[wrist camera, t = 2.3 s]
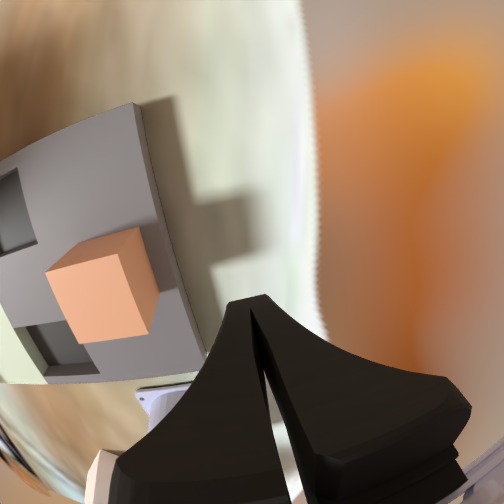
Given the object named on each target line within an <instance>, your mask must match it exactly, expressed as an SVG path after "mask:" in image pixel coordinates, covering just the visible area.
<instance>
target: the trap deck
mask: <svg viewBox="0 0 504 504" xmlns="http://www.w3.org/2000/svg"><path fill="white" fill-rule="evenodd" d="M135 227H139V228H140V232H141V235H142V239H143V242H144V245H145V249H146V252H147V255H148V258H149V261H150V264H151V267H152V271H153V274H154V277H155V279H156V282H157V285H158V288H159V291H160V294H159V298H158V301H157V305H156V309H155V312H154V316H153V320H152V323H151V327H150V331H149V334H146V335H140V336H133V337H127V338H120V339H113V340H106V341H99V342H91V343H83V344H79V343H78V341H77V339H76V337H75V335H74V334H73V332H72V330H71V328H70V326H69V324H68V322H67V320H66V318H65V316H64V314H63V312H62V310H61V308H60V306H59V304H58V302H57V299H56V297H55V295H54V293H53V291H52V288H51V286H50V284H49V281H48V279H47V276H46V274H45V272H46V271H47V270H48V269H49V268H50V267H51V266H52V265H53V264H55V263H56V262H57V261H58V260H59V259H60V258H61V257H62V256H63V255H65V254H66V253H67V252H68V251H69V250H70V249H71V248H73V247H74V246H75V245H76V244H77V243H80V242H84V241H87V240H91V239H94V238H98V237H102V236H105V235H109V234H113V233H116V232H120V231H124V230H128V229H131V228H135ZM206 359H207V353H206V350H205V347H204V345H203V342H202V339H201V336H200V333H199V330H198V327H197V325H196V322H195V319H194V316H193V313H192V310H191V307H190V304H189V300H188V297H187V294H186V291H185V288H184V285H183V281H182V278H181V275H180V271H179V268H178V265H177V261H176V258H175V254H174V251H173V247H172V244H171V240H170V237H169V233H168V229H167V226H166V222H165V218H164V214H163V210H162V206H161V202H160V198H159V194H158V190H157V186H156V182H155V177H154V173H153V168H152V164H151V159H150V155H149V150H148V145H147V140H146V135H145V130H144V125H143V119H142V114H141V108H140V106H138V105H136V104H134V103H129V104H126V105H123V106H120V107H117V108H114V109H111V110H109V111H106V112H103V113H100V114H98V115H95V116H92V117H90V118H87V119H85V120H82V121H80V122H77V123H75V124H73V125H70V126H68V127H66V128H63V129H61V130H59V131H57V132H55V133H53V134H50V135H48V136H46V137H44V138H42V139H40V140H38V141H36V142H34V143H32V144H30V145H28V146H27V147H25V148H23V149H21V150H19V151H17V152H16V153H14V154H12V155H10V156H9V157H7V158H5V159H3V160H2V161H0V383H14V384H80V383H99V382H113V381H124V380H135V379H144V378H153V377H160V376H168V375H175V374H182V373H188V372H194V371H200V369H201V368H202V366H203V364H204V362H205V361H206Z"/></svg>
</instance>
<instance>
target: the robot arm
mask: <svg viewBox="0 0 504 504" xmlns="http://www.w3.org/2000/svg"><path fill="white" fill-rule="evenodd" d="M264 372H265V374H266V377H267V380H268V382H269V385H270V387H271V390H272V392H273V395H274V398H275V400H276V403H277V405H278V408H279V410H280V413H281V415H282V418H283V421H284V423H285V426H286V429H287V433H288V436H289V440H290V443H291V447H292V450H293V454H294V457H295V461H296V464H297V468H298V472H299V475H300V479H301V482H302V486H303V489H304V493H305V496H306V499H307V503H308V504H448V503H450V502H451V501H453V500H454V499H456V498H457V497H459V496H460V495H461V494H463V493H464V492H465V494H464V496H463V501H462V503H460V504H504V437H502V438H501V439H500V440H499V441H498V442H497V443H495V444H494V445H493V446H492V447H491V448H489V449H488V450H487V451H486V452H485V453H483V454H482V455H481V456H480V457H478V458H477V459H476V460H474V461H473V462H472V463H470V464H469V465H467V466H466V467H465V468H463V469H461V468H460V466H459V465H458V463H457V461H456V460H455V459H456V458H457V457H458V451H457V450H456V448H455V447H454V445H453V443H454V442H455V440H456V439H457V437H458V436H459V435H460V433H461V432H462V430H463V429H464V427H465V426H466V424H467V422H468V420H469V418H470V415H471V409H472V406H471V405H470V403H469V402H468V401H467V400H466V398H465V397H464V396H463V395H462V393H461V392H460V391H459V390H458V389H457V388H456V386H455V385H454V384H453V383H452V382H451V381H450V380H449V379H448V378H446V377H443V376H435V375H428V374H422V373H414V372H409V371H405V370H400V369H397V368H393V367H389V366H385V365H382V364H378V363H375V362H372V361H369V360H367V359H364V358H361V357H359V356H356V355H354V354H351V353H349V352H347V351H344V350H342V349H340V348H338V347H336V346H334V345H332V344H330V343H329V342H327V341H325V340H323V339H322V338H320V337H318V336H317V335H315V334H314V333H312V332H311V331H309V330H308V329H306V328H305V327H304V326H302V325H301V324H300V323H298V322H297V321H296V320H294V319H293V318H292V317H291V316H289V315H288V314H287V313H286V312H285V311H283V310H282V309H281V308H280V307H279V306H278V305H277V304H276V303H275V302H274V301H273V300H272V299H271V298H270V297H269V296H268V295H266V294H263V295H258V296H254V297H250V298H245V299H241V300H236V301H231V302H229V303H228V304H227V306H226V311H225V315H224V319H223V322H222V325H221V327H220V330H219V332H218V335H217V337H216V340H215V342H214V344H213V346H212V349H211V351H210V353H209V355H208V357H207V359H206V361H205V362H204V364H203V366H202V368H201V369H200V371H199V373H198V374H197V376H196V377H195V379H194V381H193V382H192V383H189V384H182V385H175V386H167V387H159V388H150V389H140V390H136V391H135V396H136V398H137V399H138V401H139V402H140V404H141V405H142V407H143V408H144V410H145V411H146V413H147V414H148V415H149V422H148V430H147V435H146V436H145V437H143V438H142V439H141V440H140V441H138V442H137V443H136V444H135V445H133V446H132V447H131V448H130V449H128V450H127V451H126V452H125V453H123V454H122V455H121V456H119V457H118V458H117V459H116V461H115V465H114V468H113V472H112V475H111V481H110V489H109V497H108V504H292V503H291V500H290V496H289V492H288V488H287V485H286V481H285V477H284V474H283V470H282V466H281V462H280V458H279V454H278V451H277V447H276V443H275V439H274V435H273V430H272V425H271V419H270V412H269V405H268V398H267V391H266V383H265V376H264ZM0 504H1V503H0Z"/></svg>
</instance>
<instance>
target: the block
mask: <svg viewBox="0 0 504 504" xmlns="http://www.w3.org/2000/svg"><path fill="white" fill-rule="evenodd" d="M45 274H46V276H47V279H48V281H49V284H50V286H51V288H52V291H53V293H54V295H55V297H56V299H57V302H58V304H59V306H60V308H61V310H62V312H63V314H64V316H65V318H66V320H67V322H68V324H69V326H70V328H71V330H72V332H73V334H74V335H75V337H76V339H77V341H78V343H79V344H83V343H91V342H99V341H106V340H113V339H120V338H127V337H133V336H140V335H146V334H149V331H150V327H151V323H152V320H153V316H154V312H155V309H156V305H157V301H158V298H159V294H160V291H159V288H158V285H157V282H156V279H155V277H154V274H153V271H152V267H151V264H150V261H149V258H148V255H147V252H146V249H145V245H144V242H143V239H142V235H141V232H140V228H139V227H135V228H131V229H128V230H124V231H120V232H116V233H113V234H109V235H105V236H102V237H98V238H94V239H91V240H87V241H84V242H80V243H77V244H76V245H75V246H74V247H73V248H71V249H70V250H69V251H68V252H67V253H66V254H65V255H63V256H62V257H61V258H60V259H59V260H58V261H57V262H56V263H55V264H53V265H52V266H51V267H50V268H49V269H48V270H47V271H46V272H45Z"/></svg>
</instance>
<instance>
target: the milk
mask: <svg viewBox="0 0 504 504" xmlns="http://www.w3.org/2000/svg"><path fill="white" fill-rule="evenodd" d="M118 457H119V456H117V455H114V454H112V453H109V452H106V451H104V450H101V449H100V451H99V453H98V454H97V456H96V458H95V460H94V462H93V464H92V466H91V468H90V470H89V472H88V476H87V483H86V491H85V500H84V504H108V497H109V489H110V481H111V475H112V472H113V468H114V465H115V461H116V459H117V458H118Z"/></svg>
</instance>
